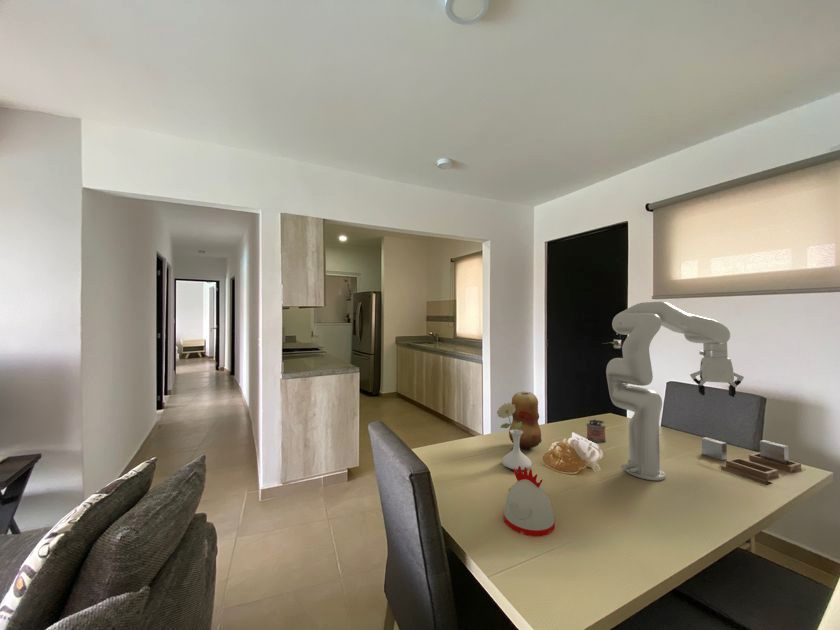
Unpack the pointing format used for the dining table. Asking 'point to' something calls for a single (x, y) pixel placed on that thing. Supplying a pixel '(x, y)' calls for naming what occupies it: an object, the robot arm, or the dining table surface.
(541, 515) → the kitchen timer
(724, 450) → the billet
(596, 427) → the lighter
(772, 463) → the brown flat slotted piece
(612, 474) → the dining table surface
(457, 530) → the dining table surface
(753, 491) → the dining table surface
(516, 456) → the flower in vase
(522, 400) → the butternut squash
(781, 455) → the block
